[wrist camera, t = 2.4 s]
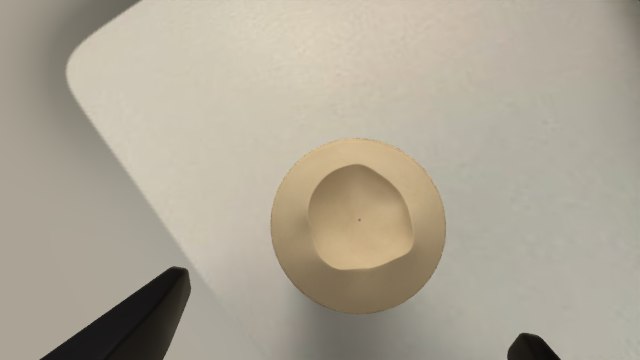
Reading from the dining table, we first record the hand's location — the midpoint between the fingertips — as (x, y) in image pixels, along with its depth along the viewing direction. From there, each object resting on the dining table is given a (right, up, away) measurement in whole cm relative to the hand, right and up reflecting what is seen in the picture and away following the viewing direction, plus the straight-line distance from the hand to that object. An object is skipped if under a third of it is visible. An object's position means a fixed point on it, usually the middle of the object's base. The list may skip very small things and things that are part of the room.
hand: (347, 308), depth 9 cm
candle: (+1, 0, +10) cm, 10 cm away
